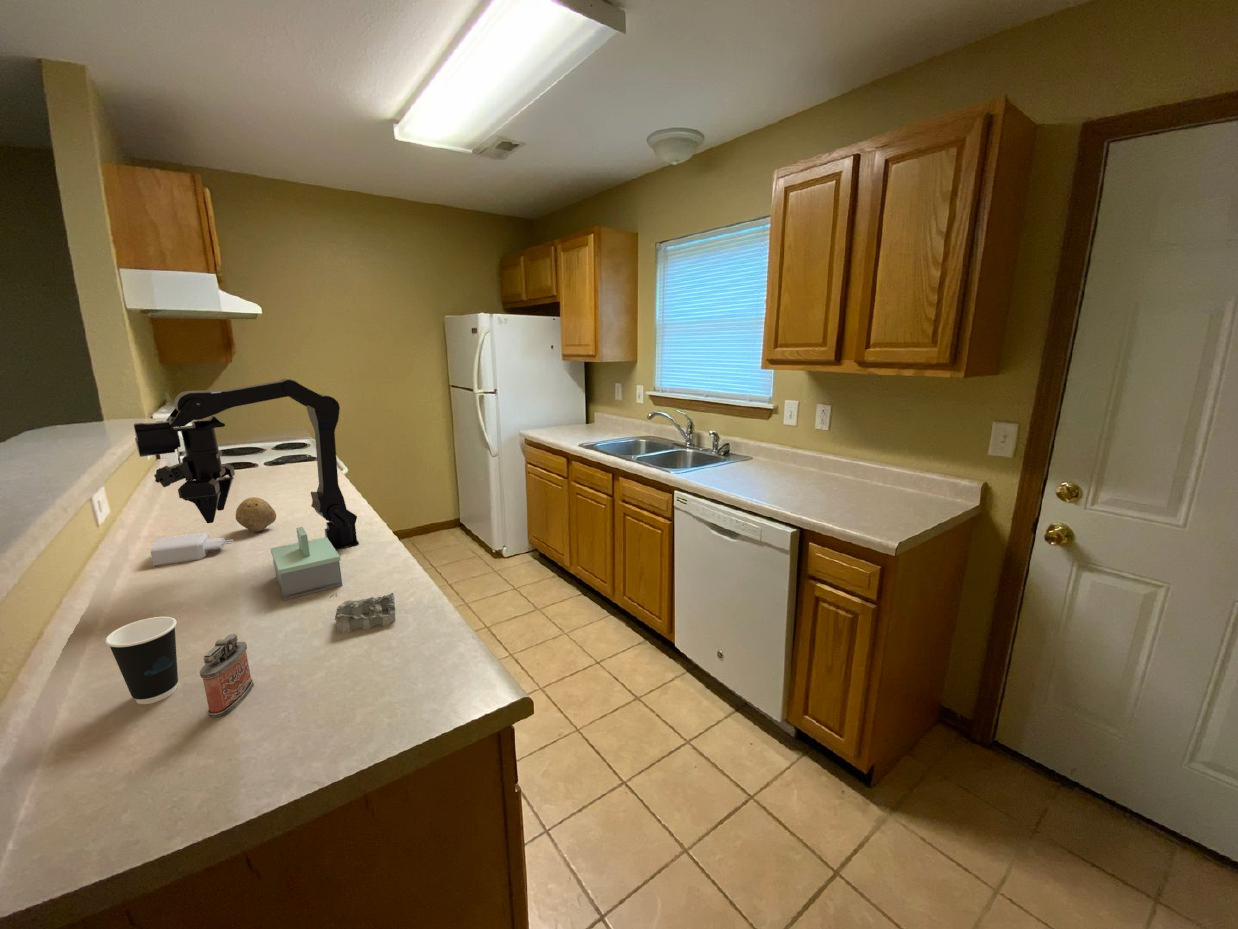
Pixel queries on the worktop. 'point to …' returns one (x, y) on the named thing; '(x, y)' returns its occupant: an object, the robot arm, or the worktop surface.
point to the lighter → (226, 676)
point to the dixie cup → (147, 657)
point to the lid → (304, 553)
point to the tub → (309, 580)
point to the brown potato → (255, 514)
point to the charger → (184, 548)
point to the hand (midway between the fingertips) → (215, 516)
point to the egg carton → (352, 612)
